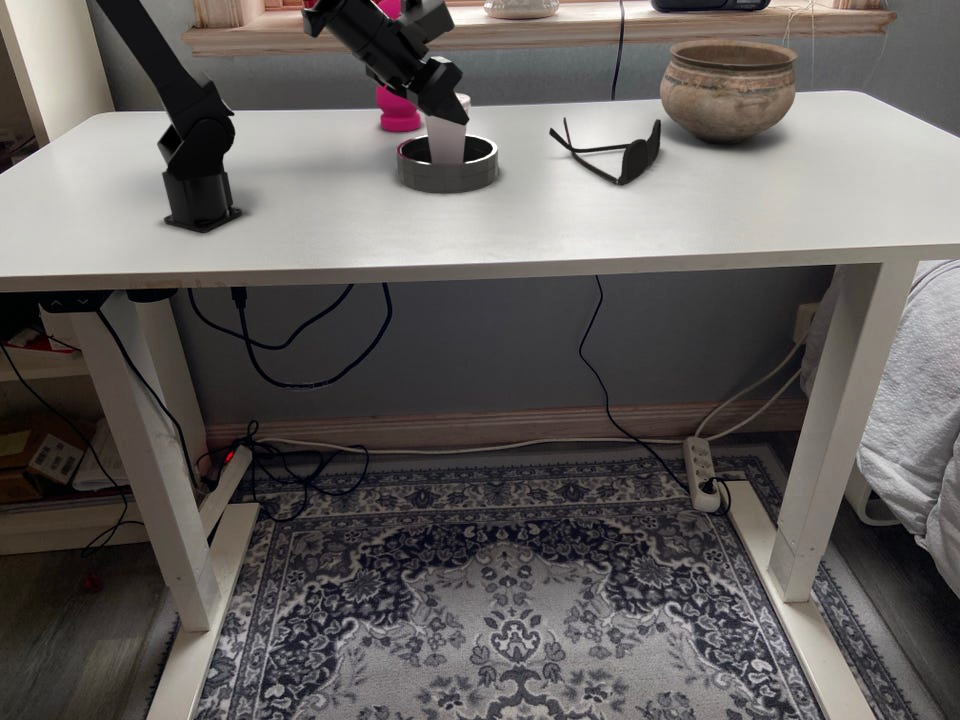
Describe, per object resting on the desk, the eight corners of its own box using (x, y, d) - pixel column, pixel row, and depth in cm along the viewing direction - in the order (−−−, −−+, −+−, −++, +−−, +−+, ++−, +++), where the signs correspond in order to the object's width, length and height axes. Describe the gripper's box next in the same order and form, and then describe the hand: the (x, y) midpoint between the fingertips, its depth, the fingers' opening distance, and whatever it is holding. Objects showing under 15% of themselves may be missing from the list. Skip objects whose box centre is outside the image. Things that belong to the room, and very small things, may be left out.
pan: (466, 199, 93) (466, 171, 91) (378, 182, 98) (376, 155, 96) (513, 167, 102) (514, 141, 100) (431, 153, 108) (430, 128, 106)
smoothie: (454, 184, 96) (451, 70, 89) (414, 175, 99) (407, 64, 92) (480, 170, 101) (480, 60, 93) (441, 162, 104) (437, 54, 96)
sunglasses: (574, 137, 114) (576, 103, 111) (668, 150, 108) (672, 115, 105) (528, 171, 101) (529, 134, 99) (631, 188, 96) (635, 149, 93)
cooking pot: (818, 161, 104) (841, 69, 97) (685, 167, 102) (699, 73, 95) (745, 112, 124) (760, 33, 118) (634, 116, 123) (642, 36, 116)
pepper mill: (432, 124, 120) (427, -15, 109) (405, 135, 115) (396, -9, 104) (396, 117, 123) (387, -18, 112) (368, 128, 118) (356, -12, 107)
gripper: (443, -18, 78) (532, 80, 89) (381, -35, 92) (463, 51, 102) (378, 69, 80) (472, 156, 90) (326, 39, 94) (413, 117, 104)
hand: (455, 116), depth 97 cm, fingers closed on smoothie, 6 cm apart
